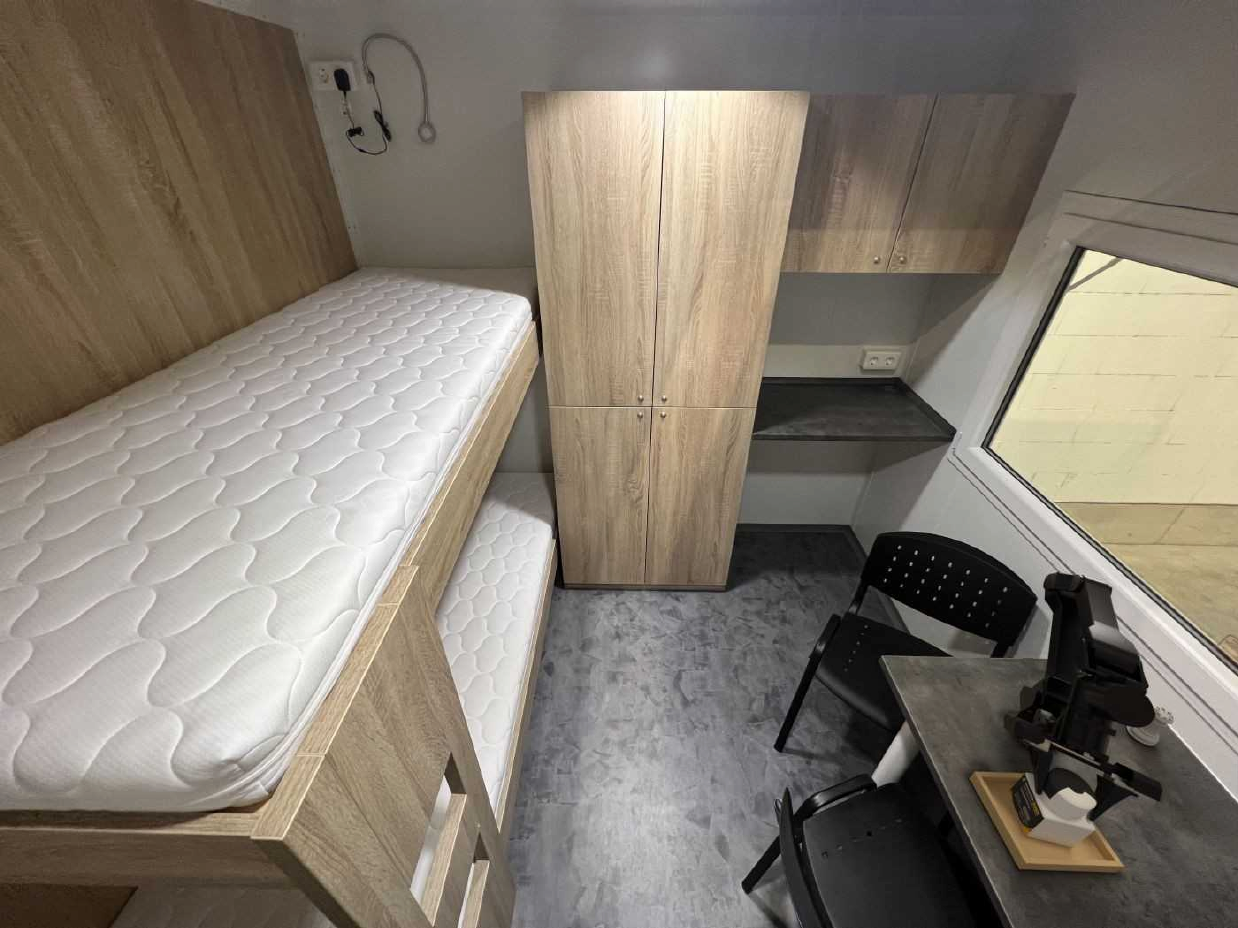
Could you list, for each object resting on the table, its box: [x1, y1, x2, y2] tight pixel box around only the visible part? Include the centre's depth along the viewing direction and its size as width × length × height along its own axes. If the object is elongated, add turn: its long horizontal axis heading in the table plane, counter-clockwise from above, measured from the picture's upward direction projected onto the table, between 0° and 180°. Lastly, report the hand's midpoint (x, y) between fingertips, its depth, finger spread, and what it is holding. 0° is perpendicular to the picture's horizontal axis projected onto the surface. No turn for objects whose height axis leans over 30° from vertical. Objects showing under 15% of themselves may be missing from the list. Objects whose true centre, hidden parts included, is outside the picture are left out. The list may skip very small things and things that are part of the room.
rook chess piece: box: [1126, 706, 1175, 747], centre depth 95 cm, size 4×4×8 cm
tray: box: [969, 771, 1125, 874], centre depth 83 cm, size 16×14×2 cm
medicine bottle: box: [1008, 766, 1097, 848], centre depth 80 cm, size 7×7×12 cm
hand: (1063, 806), depth 78 cm, fingers closed on medicine bottle, 6 cm apart
